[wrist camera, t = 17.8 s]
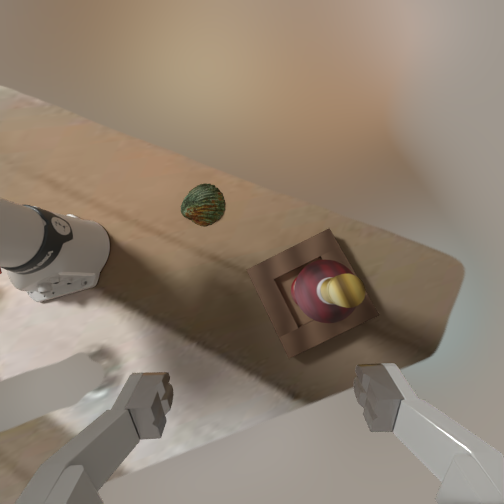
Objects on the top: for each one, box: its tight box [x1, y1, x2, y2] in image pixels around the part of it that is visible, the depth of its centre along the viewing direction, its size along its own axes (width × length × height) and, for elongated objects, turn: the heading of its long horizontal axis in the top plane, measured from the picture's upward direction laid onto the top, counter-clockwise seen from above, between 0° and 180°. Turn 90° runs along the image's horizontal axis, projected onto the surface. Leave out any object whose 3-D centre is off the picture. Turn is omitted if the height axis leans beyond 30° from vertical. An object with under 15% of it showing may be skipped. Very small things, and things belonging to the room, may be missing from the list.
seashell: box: [181, 184, 225, 226], centre depth 53 cm, size 10×4×10 cm
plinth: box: [247, 229, 379, 358], centre depth 46 cm, size 18×18×4 cm
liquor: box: [291, 260, 366, 323], centre depth 32 cm, size 7×7×28 cm
